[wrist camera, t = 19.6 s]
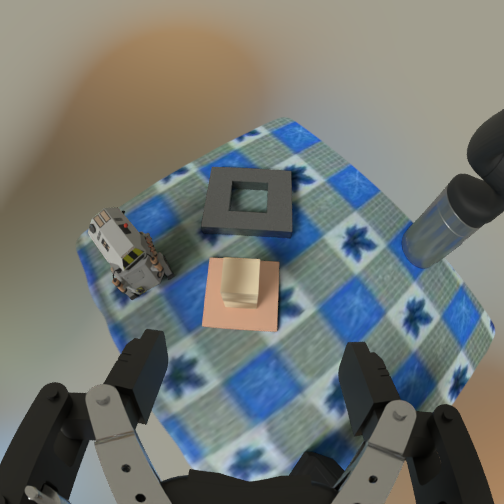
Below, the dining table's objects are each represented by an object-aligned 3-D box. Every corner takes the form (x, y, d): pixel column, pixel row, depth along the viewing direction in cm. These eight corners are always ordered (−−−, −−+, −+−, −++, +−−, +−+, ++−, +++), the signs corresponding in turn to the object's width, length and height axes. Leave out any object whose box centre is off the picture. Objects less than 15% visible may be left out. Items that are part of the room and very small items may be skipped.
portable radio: (312, 494, 31) (363, 574, 8) (282, 484, 32) (312, 571, 9) (336, 459, 34) (412, 520, 11) (306, 448, 35) (364, 516, 12)
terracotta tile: (278, 263, 48) (279, 261, 48) (276, 331, 43) (276, 331, 43) (210, 258, 48) (210, 257, 48) (202, 326, 43) (202, 326, 43)
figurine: (154, 234, 50) (126, 186, 37) (178, 284, 46) (152, 247, 33) (114, 256, 48) (76, 216, 35) (134, 308, 44) (93, 281, 31)
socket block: (289, 178, 56) (291, 171, 54) (290, 238, 50) (292, 231, 48) (213, 174, 56) (211, 166, 54) (203, 233, 50) (201, 226, 48)
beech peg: (257, 280, 46) (260, 259, 38) (256, 309, 44) (258, 294, 36) (227, 278, 46) (223, 257, 38) (225, 307, 44) (220, 292, 36)
